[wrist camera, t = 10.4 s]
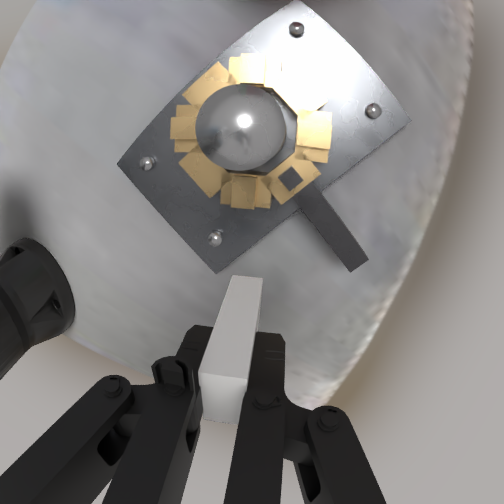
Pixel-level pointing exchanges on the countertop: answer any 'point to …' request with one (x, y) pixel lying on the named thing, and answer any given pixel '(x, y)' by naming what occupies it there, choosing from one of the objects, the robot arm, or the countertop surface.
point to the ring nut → (286, 172)
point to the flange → (262, 133)
